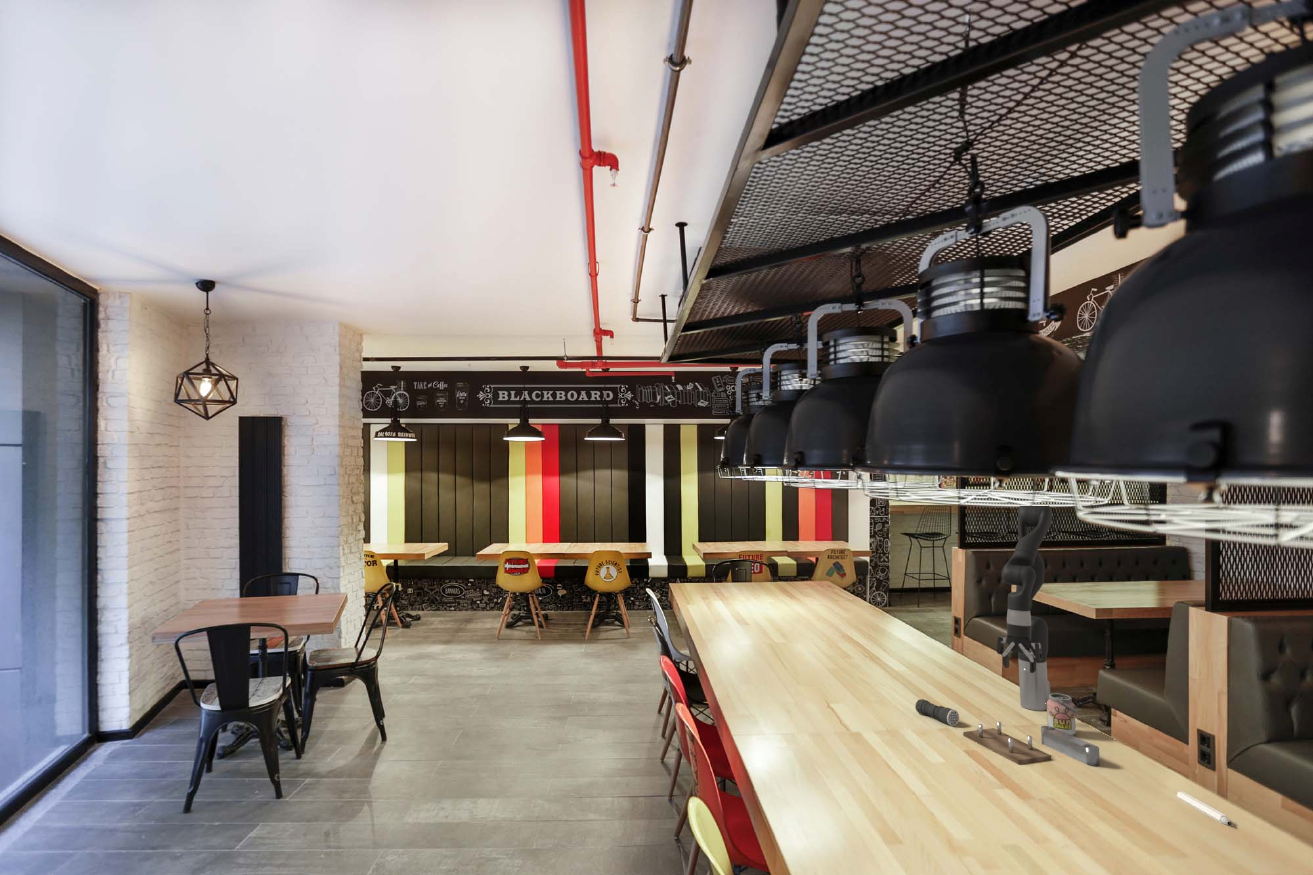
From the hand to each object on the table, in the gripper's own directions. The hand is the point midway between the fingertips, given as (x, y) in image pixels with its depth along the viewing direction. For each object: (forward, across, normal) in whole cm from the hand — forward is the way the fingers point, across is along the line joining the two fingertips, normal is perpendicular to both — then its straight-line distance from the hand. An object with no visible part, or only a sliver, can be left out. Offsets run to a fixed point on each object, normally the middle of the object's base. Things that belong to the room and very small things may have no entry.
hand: (1019, 670), depth 242 cm
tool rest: (+20, -6, +24) cm, 32 cm away
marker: (+20, -58, +30) cm, 69 cm away
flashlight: (+20, +21, +16) cm, 33 cm away
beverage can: (+18, -13, -2) cm, 23 cm away
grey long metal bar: (+19, -21, +15) cm, 32 cm away
